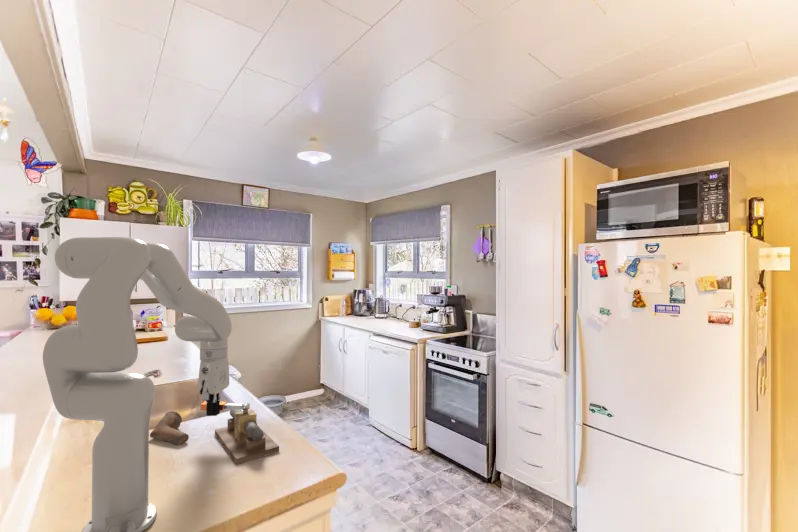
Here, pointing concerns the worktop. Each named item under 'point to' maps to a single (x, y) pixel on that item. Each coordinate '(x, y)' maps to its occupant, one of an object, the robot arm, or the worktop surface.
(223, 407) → the valve lever
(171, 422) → the pipe
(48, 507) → the worktop surface
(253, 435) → the valve stand
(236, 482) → the worktop surface
